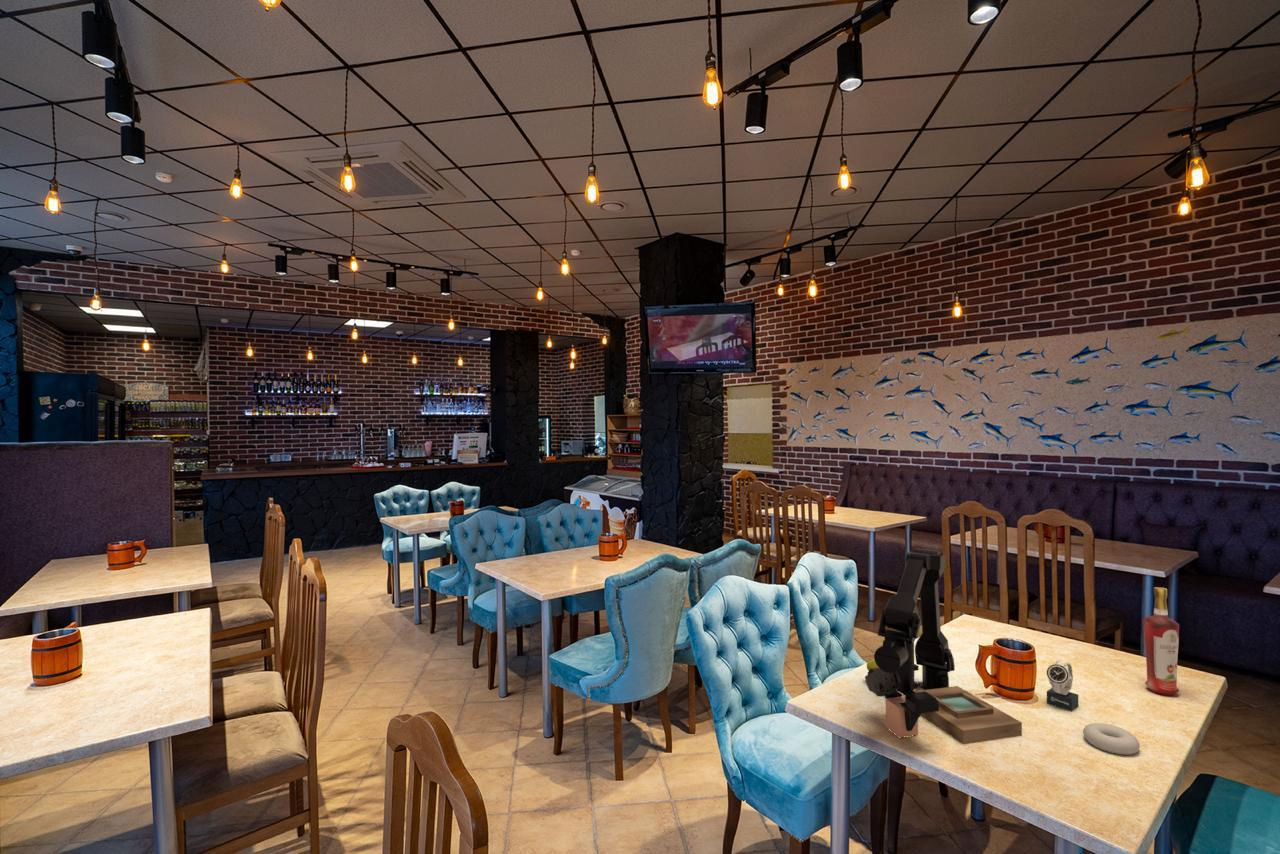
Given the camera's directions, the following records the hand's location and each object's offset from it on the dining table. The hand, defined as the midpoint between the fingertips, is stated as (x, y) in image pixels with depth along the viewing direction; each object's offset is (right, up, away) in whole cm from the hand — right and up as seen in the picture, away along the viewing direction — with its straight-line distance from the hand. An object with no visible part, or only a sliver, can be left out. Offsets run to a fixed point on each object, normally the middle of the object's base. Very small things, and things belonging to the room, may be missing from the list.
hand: (901, 724), depth 138 cm
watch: (+47, -2, +13) cm, 49 cm away
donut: (+44, -2, -6) cm, 45 cm away
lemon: (+7, -2, +24) cm, 25 cm away
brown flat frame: (+17, -2, +6) cm, 18 cm away
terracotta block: (0, -2, 0) cm, 2 cm away
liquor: (+80, -1, +20) cm, 82 cm away
